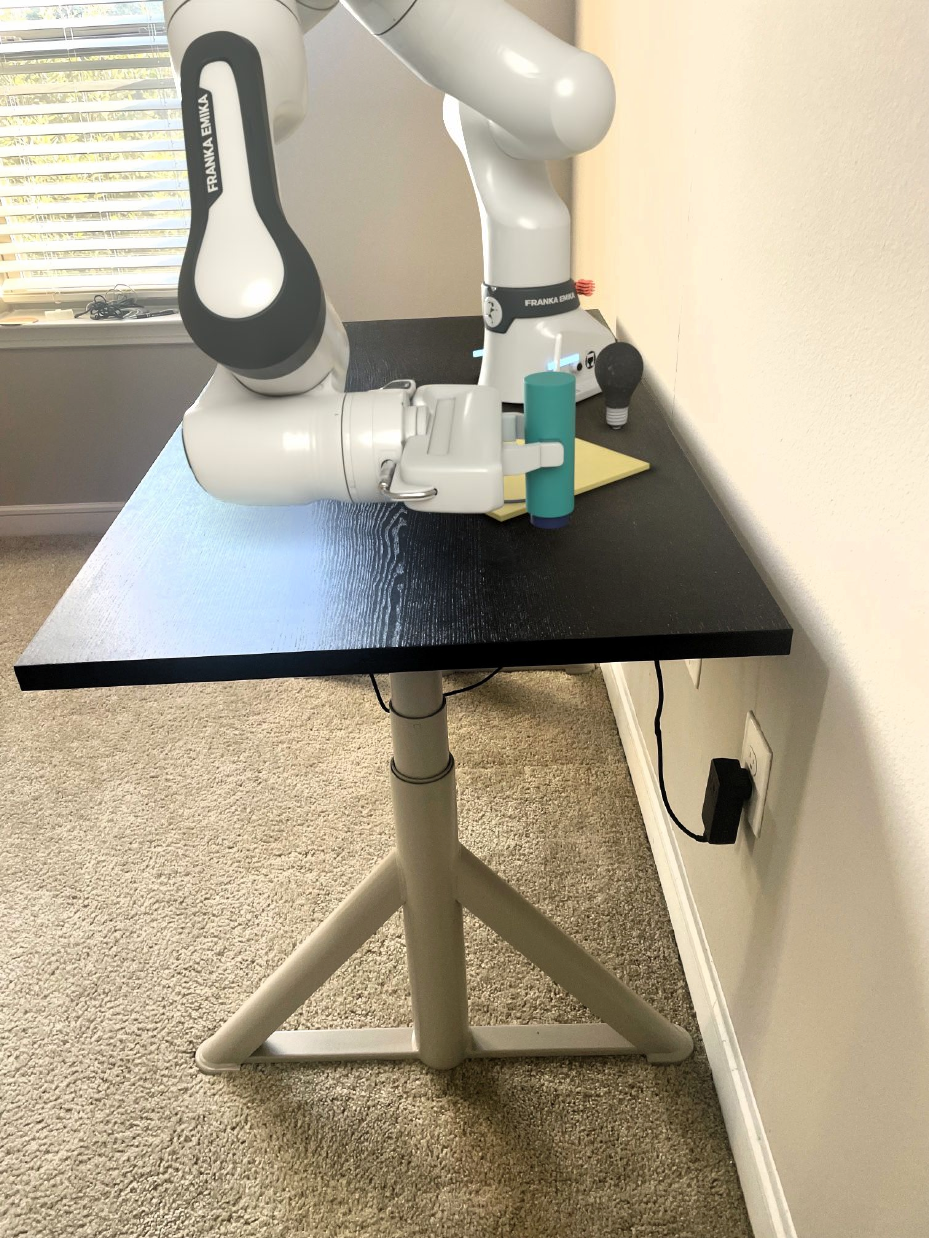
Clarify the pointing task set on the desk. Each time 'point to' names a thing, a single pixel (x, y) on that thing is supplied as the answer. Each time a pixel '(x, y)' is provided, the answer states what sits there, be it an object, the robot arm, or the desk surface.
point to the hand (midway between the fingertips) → (560, 440)
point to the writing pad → (590, 473)
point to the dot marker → (548, 419)
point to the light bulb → (618, 379)
